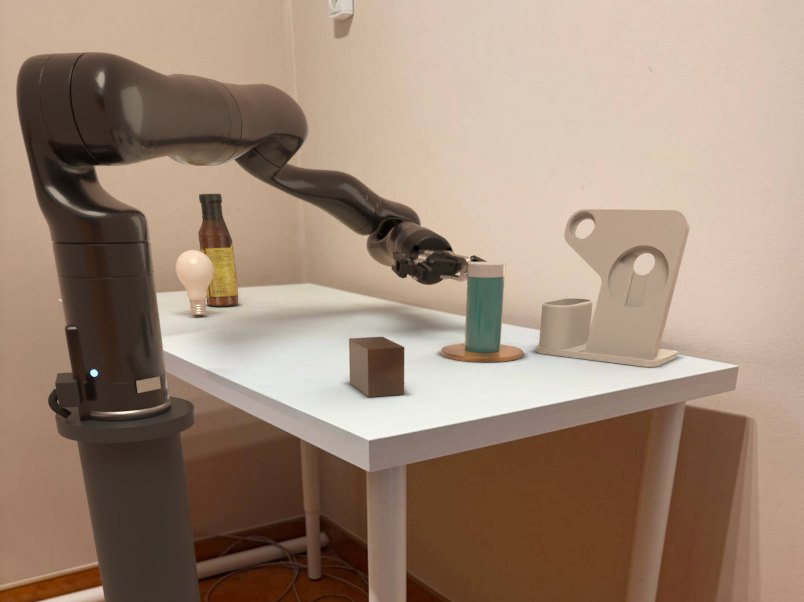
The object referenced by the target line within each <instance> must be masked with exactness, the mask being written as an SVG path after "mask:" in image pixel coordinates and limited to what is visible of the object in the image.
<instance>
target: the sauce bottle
mask: <svg viewBox="0 0 804 602" xmlns="http://www.w3.org/2000/svg"><path fill="white" fill-rule="evenodd" d="M198 200H199V203H200V205H201V206H200V207H201V219H202V221H201V226H200V227H199V230H198V242H199V251H201V252H203V253H204V254H206V255H207V256H208V257H209V259H210V260H211V262H212V264H213V268H214V274H213V278H212V280H211V282H210V284H209V286H208V289H207V296H206V298H205V299H206V305H208V306H210V307H230V306H237V305H239V289H238V280H237V269H236V263H235V262H236V261H235V254H234V253H235V252H234V244H233V243H234V242H233V239H232V236H231V234H230V232H229V229H228V227H227V224H226V221H225V218H224V215H223V206H222V203H223V198H222V194H221V193H199V194H198Z"/></svg>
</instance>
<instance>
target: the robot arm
mask: <svg viewBox="0 0 804 602" xmlns="http://www.w3.org/2000/svg"><path fill="white" fill-rule="evenodd" d="M15 85H16V86H15V96H16V100H15V101H16V108H17V115H18V121H19V126H20V131H21V135H22V140H23V144H24V149H25V153H26V157H27V161H28V166H29V170H30V175H31V180H32V183H33V189H34V193H35V197H36V202H37V205H38V207H39V209H40V212H41V214H42V216H43V218H44V220H45V221H46V225H47V227H48V229H49V235H50V241H51V247H52V251H53V258H54V264H55V269H56V275H57V281H58V287H59V293H60V299H61V305H62V311H63V317H64V323H65V324H64V325H65V326H64V333H65V339H66V344H67V345H66V347H67V351H68V357H69V362H70V368H71V369H70V370H71V372H57V374H56V378H55V382H54V385H55V388H53V390H52V391H51V393H49V395H48V398H47V402H48V407H49V408H50V409H51V410H52V412H54V413H55V414H56V413H57V414H59V415H60V416H62V417H64V418H65V419H67V418H68V417H69V416H70V414H71V412H70V411H69V410H67V409H65V408H67V407H78V410H79V416H80V420H82V421H84V420H98V421H129V420H138V419H144V418H150V417H154V416H158V415H160V414H163V413H165V412H167V411H169V410H170V409H171V403H170V397H169V396H170V395H169V394H170V391H169V386H168V378H167V371H166V362H165V354H164V346H163V337H162V327H161V321H160V312H159V303H158V295H157V287H156V280H155V279H156V278H155V271H154V263H153V262H154V261H153V255H152V247H151V241H150V240H151V238H150V237H151V236H150V230H149V223H148V219H147V216H146V215H145V212H143V211H141V209H139V208H136V207H134V206H132V205H129V204H127V203H125V202H122V201H121V200H119V199H117V198H115V196H112V195H111V194H110V192H108V191H107V190H106V189H105V188H103V186H102V183H101V182H100V179H99V176H98V173H97V170H96V167H122V166H129V165H134V164H138V163H143V162H147V161H151V160H155V159H160V158H165V157H168V158H170V159H171V160H173V161H175V162H176V163H180V164H181V165H182V164H183V165H186V166H187V165H188V166H197V167H212V166H220V165H224V164H228V163H230V162H232V161H234V162H235V163H236V164H237V165H239V166H240V168H242V169H243V170H244V171H245V172H247V174H249V175H250V176H252V177H254V178H256V179H257V180H259V181H260V182H263V183H264V184H266V185H269V186H270V187H273V188H275V189H277V190H279V191H281V192H283V193H285V194H287V195H290V196H291V197H294V198H296V199H297V200H300V201H302V202H305V203H307V204H310V205H311V206H313V207H316V208H318V209H320V210H321V211H323V212H325V213H326V214H328V215H330V216H331V217H333V218H334V219H335V220H337V221H338V222H339V223H341V224H342V225H343V226H345V227H346V228H348V230H350V231H352V232H353V233H355V234H356V235H358V236H361V237H362V236H363V237H365V236H367V238H366V250H367V253H368V255H369V256H370V257H371V258H372V259H373V260H374V261H375V262H377V263H379V264H380V265H382V266H385V267H390V268H391V271H392V272H393V273H394V274H395V275H396V276H398V278H400V279H406V278H408V276H409V277H411V279H412V280H414V281H416V282H417V283H419V284H421V285H425V286H433V285H436V284H438V283H440V282H442V281H444V280H453V281H456V282H467V264H468V263H469V262H488V261H487V260H485V259H483V258H481V257H479V256H477V255H474V254H473V255H470V257H469V256H465V255H461V254H457V253H455V252H454V250H453V247H452V244H451V243H450V242H449V241H448V240H447V239H446V238H445V237H444V236H442V235H440V234H438V233H436V232H435V231H433V230H432V229H429V228H428V227H426V226H422V222H421V218H420V216H419V214H418V213H417V211H415V210H414V209H413V208H412V207H410V206H409V205H406V204H404V203H400V202H398V201H394V200H390V199H387V198H384V197H383V196H381V195H379V194H377V193H376V192H375V191H373V190H372V189H371V188H370V187H369V186H367V185H366V184H365V183H363V182H362V181H361V180H360V179H358V178H357V177H356V176H354V175H352V174H350V173H347V172H344V171H340V170H333V169H321V168H320V169H319V168H317V169H316V168H306V167H301V166H296V165H293V164H290V163H288V162H290V160H291V159H292V158H293V157H294V156H295V155H296V154H297V153H298V152H299V151H300V150H301V149H302V147H303V146H304V145H305V143H306V141H307V139H308V136H309V129H310V128H309V121H308V119H307V116H306V113H305V112H304V110H303V109H302V107H301V106H300V105H299V103H298V102H297V101H296V99H294V98H293V97H292V96H291V95H290V94H288V93H287V92H286V91H284V90H282V89H281V88H279V87H277V86H274V85H271V84H269V83H251V84H235V83H229V82H223V81H222V82H221V81H219V80H215V79H212V78H209V77H204V76H200V75H193V74H185V73H171V74H168V75H167V74H164V73H161V72H158V71H156V70H154V69H151V68H149V67H147V66H144V65H142V64H141V63H138V62H137V61H133V60H131V59H129V58H126V57H124V56H121V55H118V54H115V53H111V52H100V51H85V52H84V51H83V52H82V51H81V52H62V53H60V52H59V53H43V54H35V55H32V56H30V57H28V58H26V59H25V60H24V61H23V62H22V64H21V66H20V67H19V70H18V74H17V76H16V84H15ZM458 274H459V275H458Z"/></svg>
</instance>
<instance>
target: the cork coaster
mask: <svg viewBox="0 0 804 602" xmlns="http://www.w3.org/2000/svg"><path fill="white" fill-rule="evenodd" d="M440 351H441V352H440V353H441V355H442V356H443V357H445V358H447V359H451V360H456V361H461V362H472V363H501V362H502V363H503V362H510V361H516V360H520V359H521V358H523V357H524V350H523V349H522V348H521V347H517V346H514V345H508V344H502V343H501V347H500V351H498V352H493V353H475V352H469V351H466V350H465V342H463V343H455V344H449V345H446V346H443V347H441V350H440Z"/></svg>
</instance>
